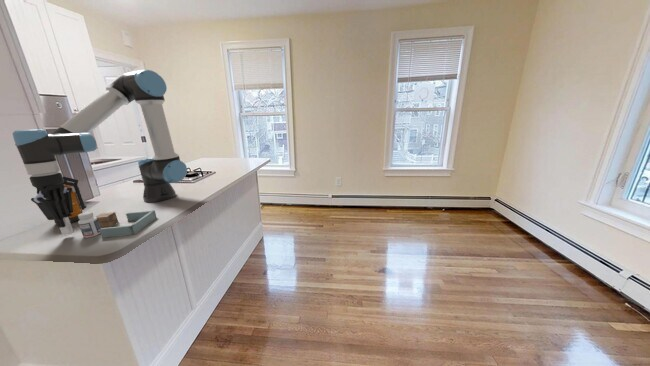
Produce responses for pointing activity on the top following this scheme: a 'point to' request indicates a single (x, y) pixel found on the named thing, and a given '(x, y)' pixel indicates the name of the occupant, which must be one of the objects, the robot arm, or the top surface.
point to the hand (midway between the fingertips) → (68, 233)
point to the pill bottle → (88, 224)
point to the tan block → (107, 219)
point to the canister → (74, 198)
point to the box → (142, 218)
